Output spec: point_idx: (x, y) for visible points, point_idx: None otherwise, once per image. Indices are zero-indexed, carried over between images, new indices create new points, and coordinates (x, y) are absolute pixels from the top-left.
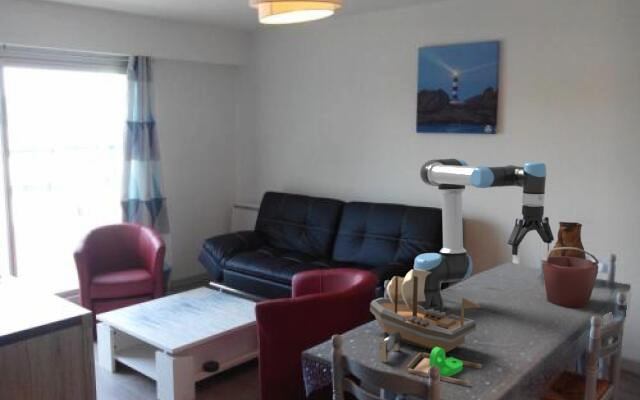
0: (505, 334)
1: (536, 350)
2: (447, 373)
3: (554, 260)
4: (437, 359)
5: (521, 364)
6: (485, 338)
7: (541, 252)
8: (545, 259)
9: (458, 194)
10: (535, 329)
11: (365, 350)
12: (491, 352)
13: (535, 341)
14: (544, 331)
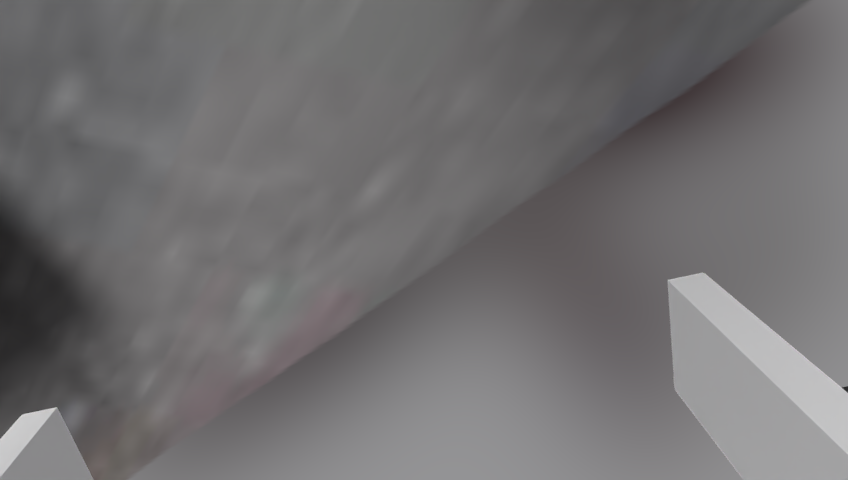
0: (296, 40)
1: (347, 278)
2: None
3: None
4: None
5: (194, 393)
6: (144, 73)
7: (738, 365)
8: (683, 393)
9: None
10: (527, 4)
11: None
12: (104, 257)
13: (411, 175)
14: (558, 49)
